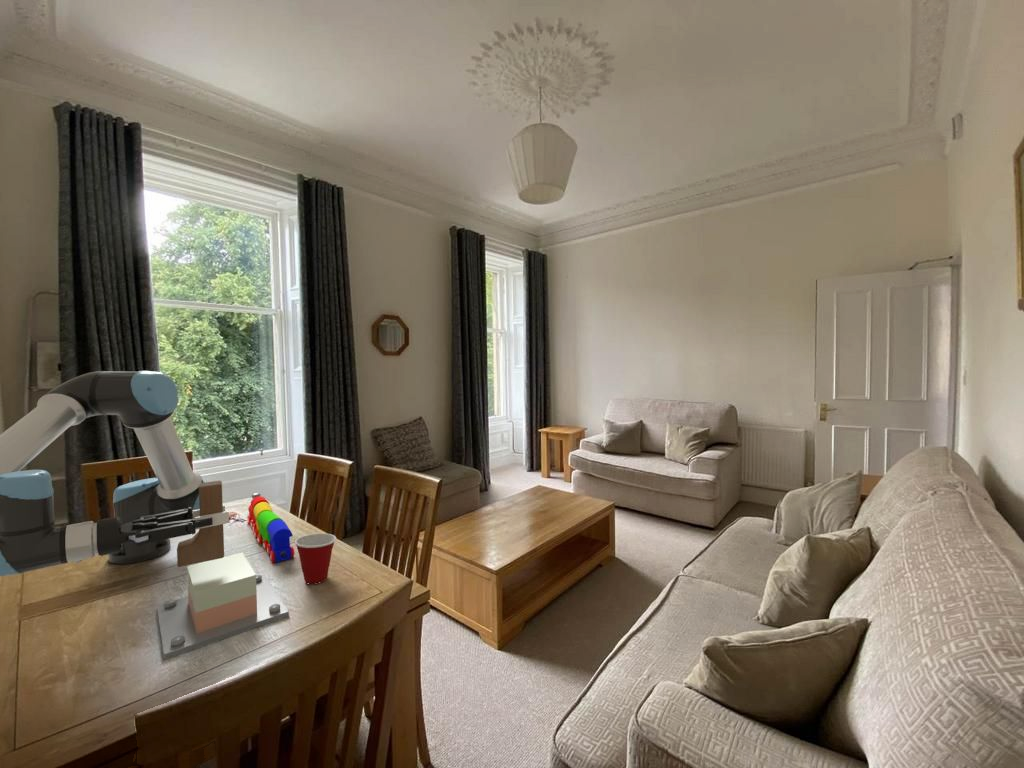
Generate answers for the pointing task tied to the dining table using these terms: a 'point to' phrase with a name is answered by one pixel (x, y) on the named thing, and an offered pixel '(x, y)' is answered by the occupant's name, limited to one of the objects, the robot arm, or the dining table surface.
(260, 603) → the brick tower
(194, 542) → the wooden block
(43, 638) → the dining table surface
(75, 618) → the dining table surface
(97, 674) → the dining table surface
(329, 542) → the plastic cup
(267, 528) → the toy train
